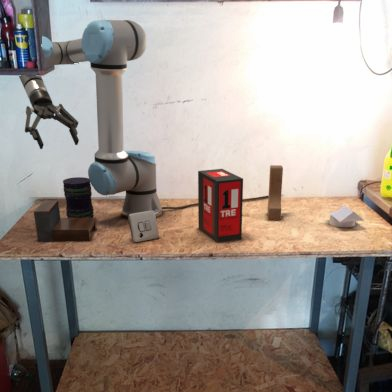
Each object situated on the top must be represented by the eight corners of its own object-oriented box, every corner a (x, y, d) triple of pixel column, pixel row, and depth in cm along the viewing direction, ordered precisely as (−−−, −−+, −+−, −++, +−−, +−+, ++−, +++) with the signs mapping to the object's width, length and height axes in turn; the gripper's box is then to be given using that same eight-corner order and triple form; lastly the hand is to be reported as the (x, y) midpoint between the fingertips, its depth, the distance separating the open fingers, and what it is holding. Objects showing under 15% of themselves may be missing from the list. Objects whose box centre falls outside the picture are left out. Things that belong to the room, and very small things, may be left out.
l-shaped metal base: (96, 228, 205) (93, 199, 200) (89, 241, 192) (86, 211, 187) (47, 228, 205) (43, 200, 200) (37, 241, 193) (33, 211, 188)
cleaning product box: (241, 239, 192) (243, 178, 183) (217, 242, 190) (217, 181, 180) (221, 225, 206) (222, 168, 196) (198, 228, 203) (198, 171, 193)
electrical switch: (134, 243, 190) (131, 215, 186) (128, 240, 194) (125, 213, 190) (159, 238, 194) (157, 211, 190) (152, 236, 198) (150, 208, 194)
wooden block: (280, 220, 211) (283, 170, 202) (268, 220, 211) (271, 170, 202) (279, 213, 219) (282, 165, 210) (267, 213, 219) (270, 165, 210)
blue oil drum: (79, 216, 218) (75, 176, 211) (100, 219, 214) (96, 179, 207) (61, 222, 211) (56, 181, 204) (82, 226, 207) (77, 184, 199)
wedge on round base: (363, 230, 200) (349, 219, 211) (366, 210, 197) (351, 201, 208) (338, 231, 199) (325, 220, 210) (341, 212, 196) (327, 202, 207)
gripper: (68, 101, 221) (88, 147, 217) (4, 105, 208) (25, 155, 205) (72, 87, 214) (93, 134, 211) (6, 91, 202) (28, 141, 199)
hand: (59, 144), depth 208 cm, fingers open, 13 cm apart
